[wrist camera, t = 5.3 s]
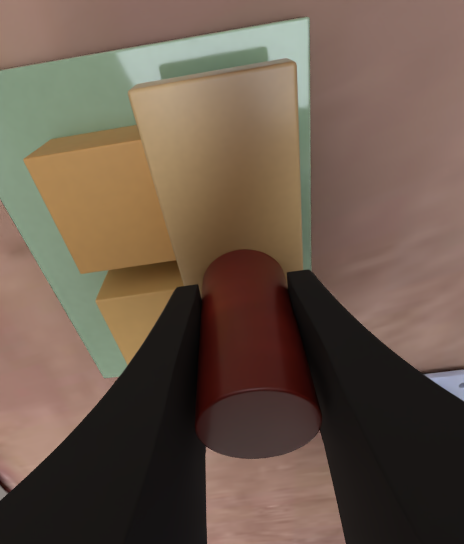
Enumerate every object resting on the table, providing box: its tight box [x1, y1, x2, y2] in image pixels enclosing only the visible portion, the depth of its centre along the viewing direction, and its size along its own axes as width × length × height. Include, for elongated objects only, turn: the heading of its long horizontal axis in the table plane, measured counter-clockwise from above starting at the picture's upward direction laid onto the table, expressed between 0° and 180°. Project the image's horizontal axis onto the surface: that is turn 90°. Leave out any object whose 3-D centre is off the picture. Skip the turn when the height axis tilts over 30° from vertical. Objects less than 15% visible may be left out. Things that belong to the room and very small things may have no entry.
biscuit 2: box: [96, 260, 184, 365], centre depth 14 cm, size 4×4×2 cm
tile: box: [0, 17, 311, 378], centre depth 14 cm, size 14×11×1 cm
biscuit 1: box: [23, 125, 176, 274], centre depth 11 cm, size 4×4×2 cm
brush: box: [128, 58, 322, 459], centre depth 10 cm, size 4×12×8 cm, turn 8°
